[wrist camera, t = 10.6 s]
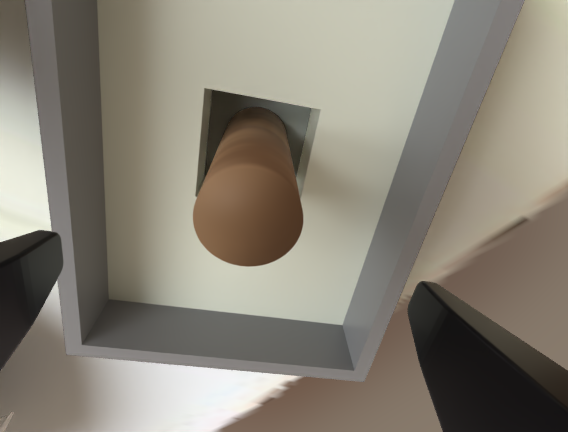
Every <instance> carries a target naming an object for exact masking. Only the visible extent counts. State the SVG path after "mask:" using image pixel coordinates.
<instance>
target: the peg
mask: <svg viewBox="0 0 568 432" xmlns="http://www.w3.org/2000/svg"><path fill="white" fill-rule="evenodd" d="M193 225H194V229H195V232H196V234H197V237H198V239H199V240H200V242H201V243H202V245H203V246H204V247H205V248H206V249H207V250H208V251H209V252H210V253H211V254H213V255H214V256H215V257H217V258H219V259H220V260H222V261H225V262H227V263H230V264H233V265H238V266H246V267H252V266H261V265H265V264H269V263H271V262H274V261H276V260H278V259H280V258H281V257H283V256H284V255H286V254H287V253H288V252H289V251H290V250H291V249H292V248H293V247H294V245H295V244H296V242H297V241H298V239H299V237H300V235H301V231H302V228H303V209H302V205H301V200H300V195H299V190H298V186H297V181H296V176H295V171H294V167H293V162H292V157H291V152H290V147H289V143H288V138H287V133H286V129H285V127H284V124H283V123H282V121H281V120H280V118H279V117H278V116H277V115H276V114H274V113H273V112H271V111H270V110H267V109H265V108H261V107H250V108H246V109H243V110H241V111H239V112H238V113H236V114H235V115H234V116H233V117H232V118H231V120H230V121H229V123H228V125H227V127H226V130H225V132H224V134H223V137H222V139H221V142H220V144H219V146H218V149H217V151H216V154H215V156H214V158H213V161H212V163H211V165H210V168H209V170H208V173H207V175H206V177H205V180H204V182H203V185H202V187H201V189H200V192H199V194H198V197H197V199H196V202H195V205H194V209H193Z"/></svg>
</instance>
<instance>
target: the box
mask: <svg viewBox="0 0 568 432" xmlns="http://www.w3.org/2000/svg"><path fill="white" fill-rule="evenodd" d="M524 1H525V0H25V5H26V14H27V22H28V31H29V40H30V48H31V57H32V65H33V74H34V82H35V91H36V99H37V108H38V116H39V125H40V134H41V142H42V151H43V159H44V168H45V176H46V185H47V193H48V202H49V210H50V219H51V228H52V232H57V233H58V234H59V235H60V237H61V241H62V251H63V262H64V263H63V269H62V271H61V273H60V275H59V277H58V287H59V296H60V304H61V313H62V322H63V330H64V339H65V347H66V355H75V356H86V357H97V358H108V359H119V360H130V361H141V362H152V363H163V364H174V365H185V366H196V367H207V368H218V369H229V370H240V371H251V372H262V373H273V374H284V375H295V376H306V377H318V378H328V379H339V380H350V381H361V382H364V381H365V379H366V376H367V374H368V371H369V369H370V367H371V364H372V362H373V360H374V357H375V355H376V352H377V350H378V348H379V345H380V343H381V340H382V338H383V336H384V333H385V331H386V328H387V326H388V324H389V322H390V319H391V317H392V314H393V312H394V310H395V307H396V305H397V303H398V300H399V298H400V295H401V293H402V291H403V288H404V286H405V283H406V281H407V279H408V276H409V274H410V272H411V269H412V267H413V264H414V262H415V260H416V257H417V255H418V253H419V250H420V248H421V245H422V243H423V241H424V238H425V236H426V234H427V231H428V229H429V226H430V224H431V222H432V219H433V217H434V215H435V212H436V210H437V207H438V205H439V203H440V200H441V198H442V196H443V193H444V191H445V188H446V186H447V184H448V181H449V179H450V177H451V174H452V172H453V169H454V167H455V165H456V162H457V160H458V158H459V155H460V153H461V150H462V148H463V146H464V143H465V141H466V139H467V136H468V134H469V131H470V129H471V127H472V124H473V122H474V119H475V117H476V115H477V112H478V110H479V108H480V105H481V103H482V100H483V98H484V96H485V93H486V91H487V89H488V86H489V84H490V81H491V79H492V77H493V74H494V72H495V70H496V67H497V65H498V62H499V60H500V58H501V55H502V53H503V51H504V48H505V46H506V43H507V41H508V39H509V36H510V34H511V32H512V29H513V27H514V24H515V22H516V20H517V17H518V15H519V13H520V10H521V8H522V5H523V3H524ZM212 89H213V90H218V91H224V92H229V93H234V94H240V95H245V96H250V97H256V98H261V99H266V100H272V101H277V102H282V103H288V104H293V105H298V106H304V107H309V108H311V112H310V117H309V121H308V126H307V131H306V135H305V140H304V144H303V149H302V154H301V158H300V163H299V168H298V172H297V177H296V181H297V186H298V190H299V195H300V200H301V205H302V209H303V228H302V231H301V235H300V237H299V239H298V241H297V242H296V244H295V245H294V247H293V248H292V249H291V250H290V251H289V252H288V253H287V254H286V255H284V256H283V257H281V258H280V259H278V260H276V261H274V262H271V263H269V264H265V265H261V266H252V267H246V266H238V265H233V264H230V263H227V262H225V261H222V260H220V259H219V258H217V257H215V256H214V255H213V254H211V253H210V252H209V251H208V250H207V249H206V248H205V247H204V246H203V245H202V243H201V242H200V240H199V239H198V237H197V234H196V232H195V229H194V225H193V209H194V205H195V202H196V199H197V197H198V194H199V192H200V189H201V187H202V185H203V182H204V180H205V177H206V176H204V173H205V162H206V152H207V141H208V130H209V120H210V109H211V98H212Z"/></svg>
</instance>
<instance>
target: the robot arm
mask: <svg viewBox="0 0 568 432" xmlns="http://www.w3.org/2000/svg"><path fill="white" fill-rule="evenodd" d="M63 263H64V262H63V251H62V241H61V237H60V235H59V234H58V233H57V232H51V231H44V230H38V231H35V232H32V233H28V234H25V235H22V236H19V237H16V238H13V239H9V240H6V241H3V242H0V371H1V369H2V368H3V367H4V365H5V364H6V362H7V361H8V359H9V358H10V357H11V355H12V354H13V352H14V351H15V349H16V348H17V347H18V345H19V344H20V342H21V341H22V339H23V338H24V337H25V335H26V334H27V332H28V331H29V329H30V328H31V326H32V324H33V323H34V321H35V319H36V318H37V316H38V314H39V312H40V310H41V308H42V307H43V305H44V303H45V301H46V299H47V297H48V295H49V294H50V292H51V290H52V288H53V286H54V284H55V283H56V281H57V279H58V277H59V275H60V273H61V271H62V269H63ZM408 316H409V321H410V325H411V330H412V334H413V338H414V342H415V347H416V351H417V355H418V359H419V363H420V367H421V370H422V373H423V376H424V378H425V382H426V385H427V387H428V390H429V393H430V396H431V399H432V402H433V405H434V407H435V410H436V413H437V416H438V419H439V421H440V425H441V428H442V430H443V432H568V371H567V370H565V369H564V368H563V367H561V366H560V365H558V364H557V363H555V362H554V361H552V360H551V359H549V358H548V357H546V356H545V355H543V354H542V353H540V352H539V351H537V350H536V349H534V348H533V347H531V346H530V345H528V344H527V343H525V342H524V341H522V340H521V339H519V338H518V337H516V336H515V335H513V334H512V333H510V332H509V331H507V330H506V329H504V328H503V327H501V326H500V325H498V324H497V323H495V322H493V321H492V320H491V319H489V318H488V317H486V316H485V315H483V314H482V313H480V312H479V311H477V310H476V309H474V308H472V307H471V306H470V305H468V304H467V303H465V302H464V301H462V300H460V299H459V298H458V297H456V296H455V295H453V294H452V293H450V292H449V291H447V290H446V289H444V288H443V287H441V286H440V285H438V284H436V283H433V282H425V281H422V282H419V283H418V285H417V286H416V289H415V291H414V293H413V296H412V298H411V300H410V302H409V305H408Z"/></svg>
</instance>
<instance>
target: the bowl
mask: <svg viewBox="0 0 568 432" xmlns="http://www.w3.org/2000/svg"><path fill="white" fill-rule="evenodd" d="M13 414H14V412H11V413H10V414H9V415H7V416H4V417H1V418H0V432H4V431H5V430H6V428H7V426H8V424H9V422H10V420H11V418H12V416H13Z"/></svg>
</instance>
